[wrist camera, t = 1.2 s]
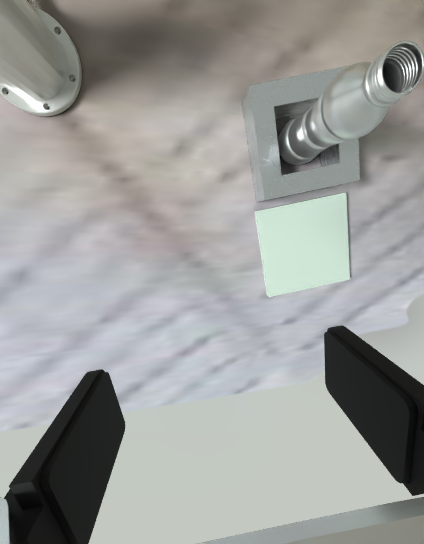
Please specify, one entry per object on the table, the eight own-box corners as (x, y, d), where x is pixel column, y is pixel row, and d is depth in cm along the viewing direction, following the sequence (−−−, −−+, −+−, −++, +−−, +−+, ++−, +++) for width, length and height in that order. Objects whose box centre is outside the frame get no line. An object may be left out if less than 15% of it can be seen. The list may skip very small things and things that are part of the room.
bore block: (241, 103, 35) (249, 85, 30) (334, 85, 35) (356, 64, 30) (255, 202, 38) (264, 200, 33) (339, 184, 39) (359, 180, 34)
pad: (254, 211, 39) (255, 211, 38) (342, 193, 39) (346, 192, 38) (266, 295, 43) (268, 297, 42) (346, 277, 43) (349, 279, 42)
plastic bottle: (290, 114, 35) (405, -8, 16) (320, 143, 37) (459, 61, 17) (265, 149, 36) (345, 74, 17) (295, 176, 38) (400, 134, 18)
